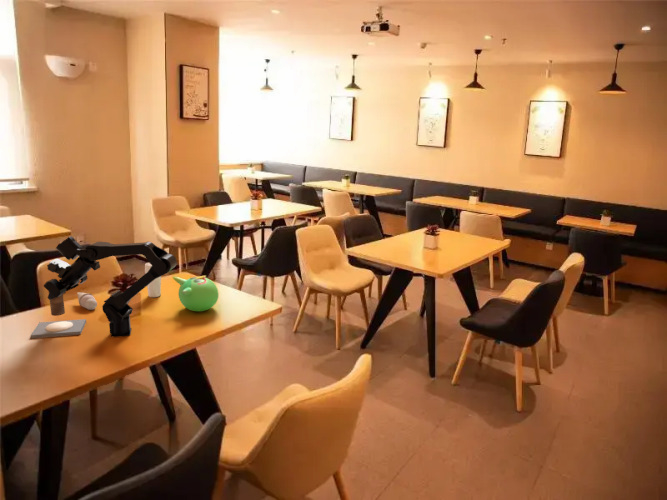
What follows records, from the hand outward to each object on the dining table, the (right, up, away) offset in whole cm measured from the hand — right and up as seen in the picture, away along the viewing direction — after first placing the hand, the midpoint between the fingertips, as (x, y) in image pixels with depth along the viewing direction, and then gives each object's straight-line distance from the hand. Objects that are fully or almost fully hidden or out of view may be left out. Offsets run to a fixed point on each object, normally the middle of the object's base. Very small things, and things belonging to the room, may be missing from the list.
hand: (52, 296), depth 180 cm
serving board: (+1, -13, +3) cm, 13 cm away
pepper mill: (+1, -6, +2) cm, 7 cm away
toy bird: (+45, -8, +28) cm, 54 cm away
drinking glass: (+22, -4, +42) cm, 48 cm away
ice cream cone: (-1, -7, +27) cm, 28 cm away
